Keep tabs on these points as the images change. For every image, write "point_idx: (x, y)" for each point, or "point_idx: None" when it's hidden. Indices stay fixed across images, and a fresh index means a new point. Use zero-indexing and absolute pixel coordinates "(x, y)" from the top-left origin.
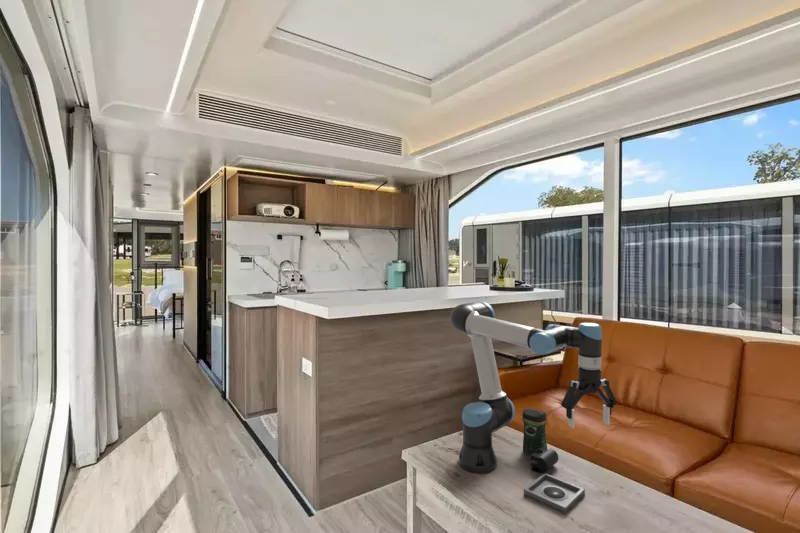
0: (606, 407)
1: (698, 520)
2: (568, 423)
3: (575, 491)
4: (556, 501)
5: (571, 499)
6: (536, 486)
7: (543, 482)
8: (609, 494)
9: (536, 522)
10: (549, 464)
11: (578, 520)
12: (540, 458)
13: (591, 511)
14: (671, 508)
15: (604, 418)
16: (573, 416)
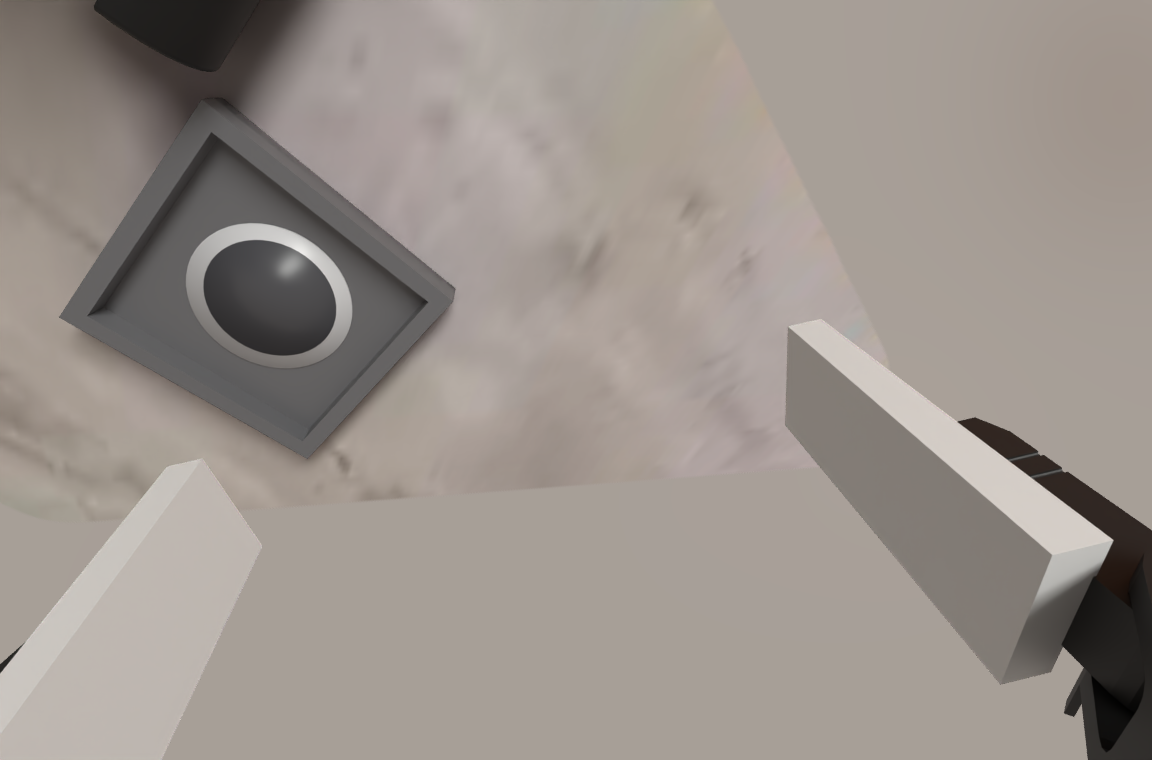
0: (999, 638)
1: None
2: (154, 494)
3: (403, 283)
4: (278, 374)
5: (352, 397)
6: (156, 233)
7: (205, 184)
8: (592, 279)
9: None
10: (228, 34)
11: (370, 470)
12: (109, 20)
13: (446, 413)
14: None
15: (830, 402)
16: (149, 741)
